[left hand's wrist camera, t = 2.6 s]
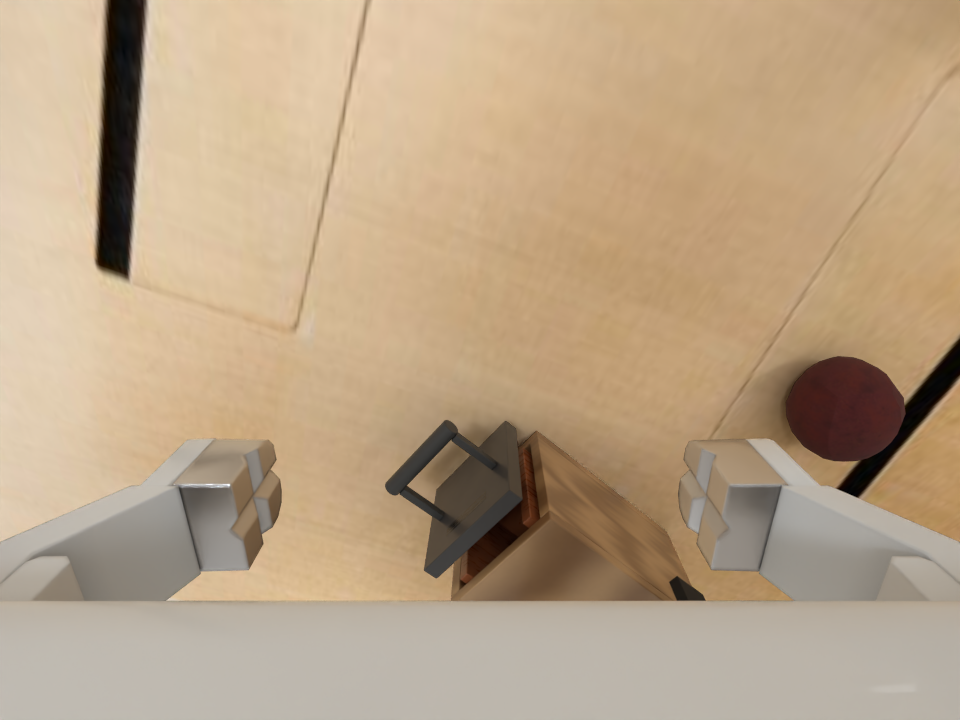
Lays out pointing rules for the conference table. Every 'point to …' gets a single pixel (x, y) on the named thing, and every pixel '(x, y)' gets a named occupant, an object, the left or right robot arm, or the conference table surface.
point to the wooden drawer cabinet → (577, 544)
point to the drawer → (473, 499)
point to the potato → (845, 409)
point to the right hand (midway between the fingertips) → (615, 639)
